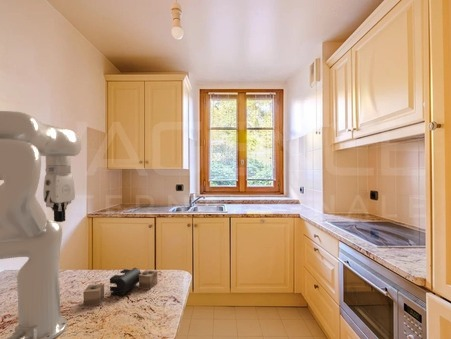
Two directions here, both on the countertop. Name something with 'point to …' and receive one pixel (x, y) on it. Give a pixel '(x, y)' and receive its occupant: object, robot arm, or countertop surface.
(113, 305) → the countertop surface
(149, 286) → the marked block
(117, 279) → the black arched block
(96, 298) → the marked block
